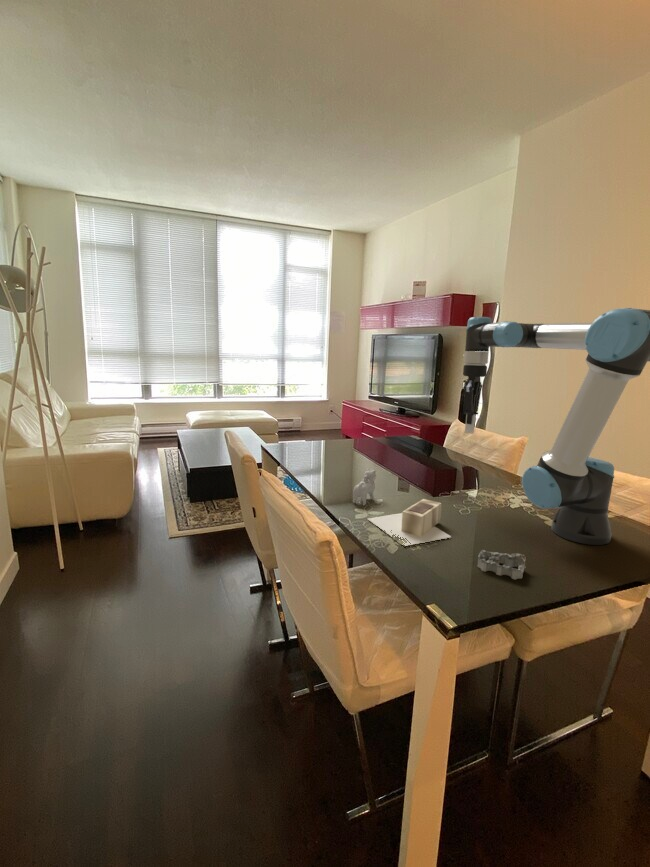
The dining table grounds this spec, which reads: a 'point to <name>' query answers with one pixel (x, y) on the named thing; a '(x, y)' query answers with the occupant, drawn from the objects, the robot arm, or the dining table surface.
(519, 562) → the egg carton
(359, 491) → the dog figurine
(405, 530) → the birch block
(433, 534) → the mat
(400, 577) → the dining table surface
